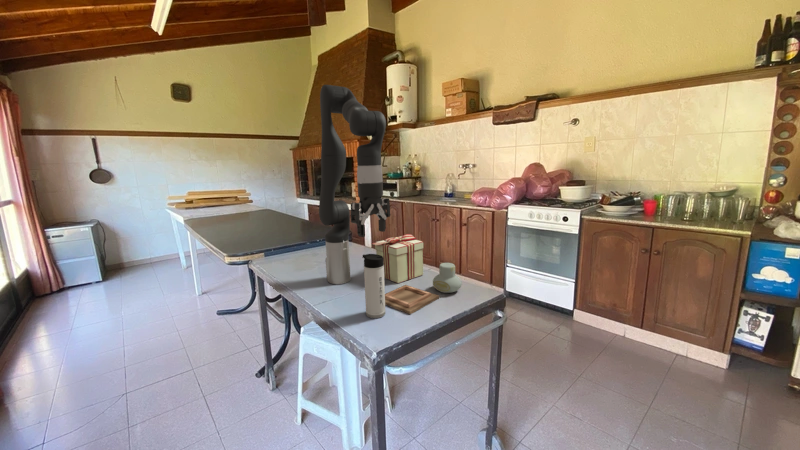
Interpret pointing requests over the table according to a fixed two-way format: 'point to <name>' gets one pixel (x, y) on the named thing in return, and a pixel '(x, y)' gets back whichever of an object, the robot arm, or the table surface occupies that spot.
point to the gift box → (401, 257)
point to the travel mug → (374, 285)
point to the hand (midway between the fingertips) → (372, 233)
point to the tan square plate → (409, 299)
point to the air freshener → (447, 279)
